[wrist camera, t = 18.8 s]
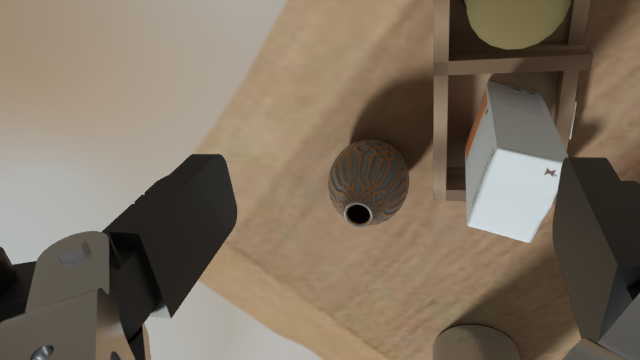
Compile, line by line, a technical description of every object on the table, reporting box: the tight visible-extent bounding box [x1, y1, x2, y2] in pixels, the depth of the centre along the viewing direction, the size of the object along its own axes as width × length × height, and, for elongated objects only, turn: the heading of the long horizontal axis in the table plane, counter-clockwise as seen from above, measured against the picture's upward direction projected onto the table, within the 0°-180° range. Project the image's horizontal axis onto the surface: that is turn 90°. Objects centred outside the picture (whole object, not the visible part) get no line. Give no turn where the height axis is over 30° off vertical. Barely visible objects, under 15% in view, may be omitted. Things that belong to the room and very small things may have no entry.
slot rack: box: [433, 0, 593, 204], centre depth 33 cm, size 22×10×5 cm, turn 7°
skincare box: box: [465, 81, 568, 243], centre depth 32 cm, size 6×4×12 cm
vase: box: [328, 139, 409, 227], centre depth 39 cm, size 7×7×9 cm
